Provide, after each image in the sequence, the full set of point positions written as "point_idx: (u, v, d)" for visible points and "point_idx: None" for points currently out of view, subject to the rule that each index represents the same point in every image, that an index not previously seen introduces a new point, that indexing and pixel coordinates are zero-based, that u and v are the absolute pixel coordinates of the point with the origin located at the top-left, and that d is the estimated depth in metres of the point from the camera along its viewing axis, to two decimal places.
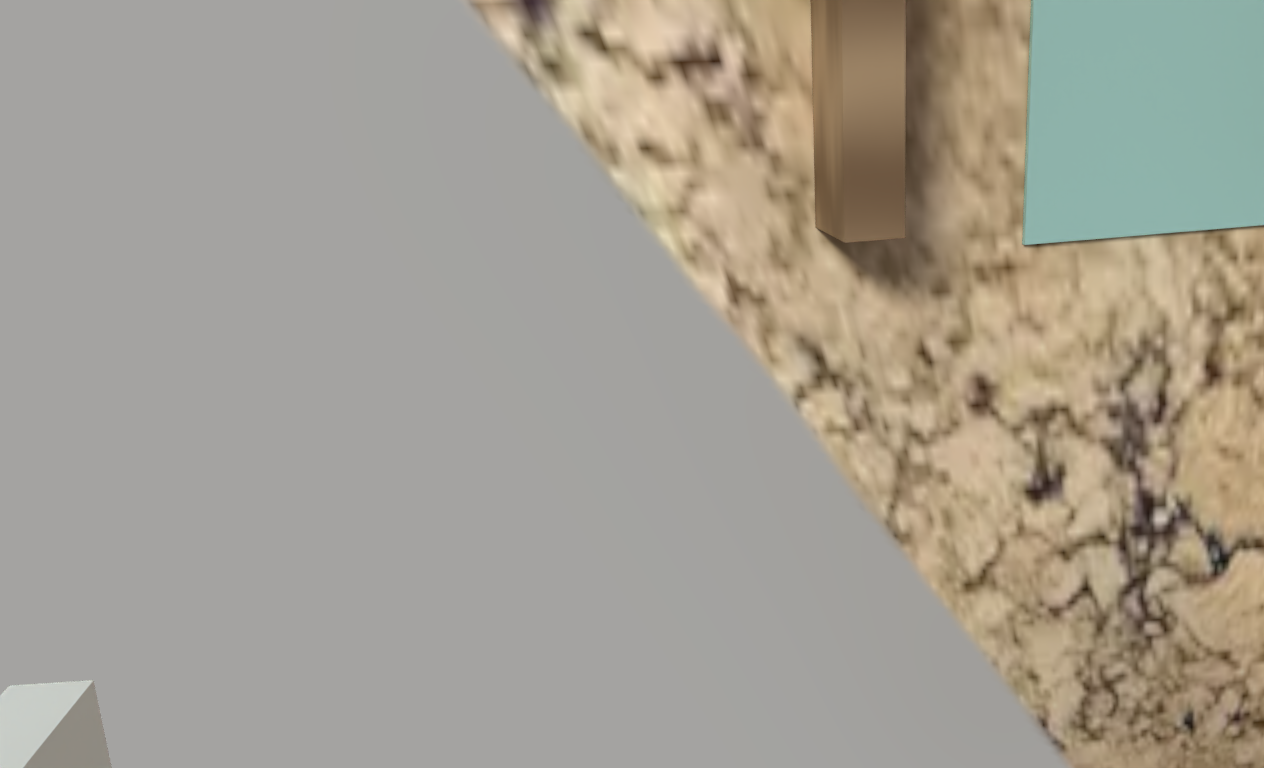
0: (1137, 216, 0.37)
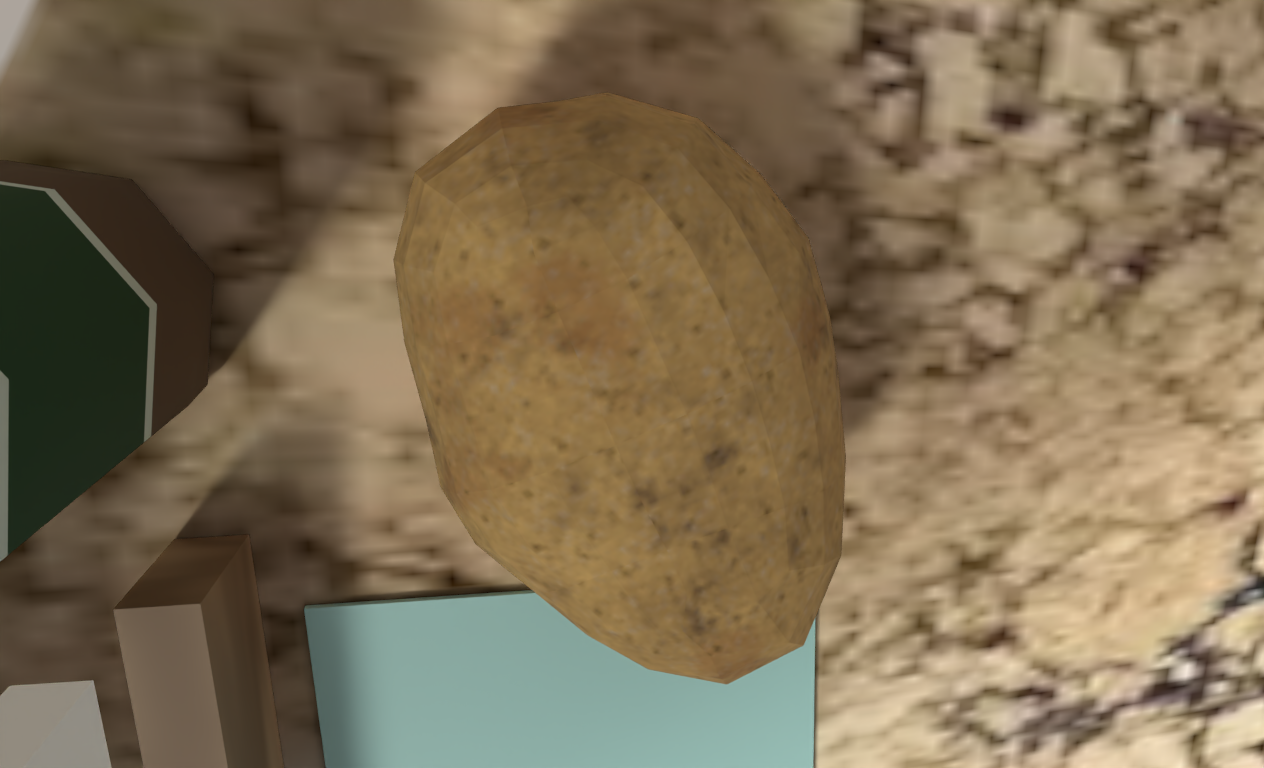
0: (790, 763, 0.31)
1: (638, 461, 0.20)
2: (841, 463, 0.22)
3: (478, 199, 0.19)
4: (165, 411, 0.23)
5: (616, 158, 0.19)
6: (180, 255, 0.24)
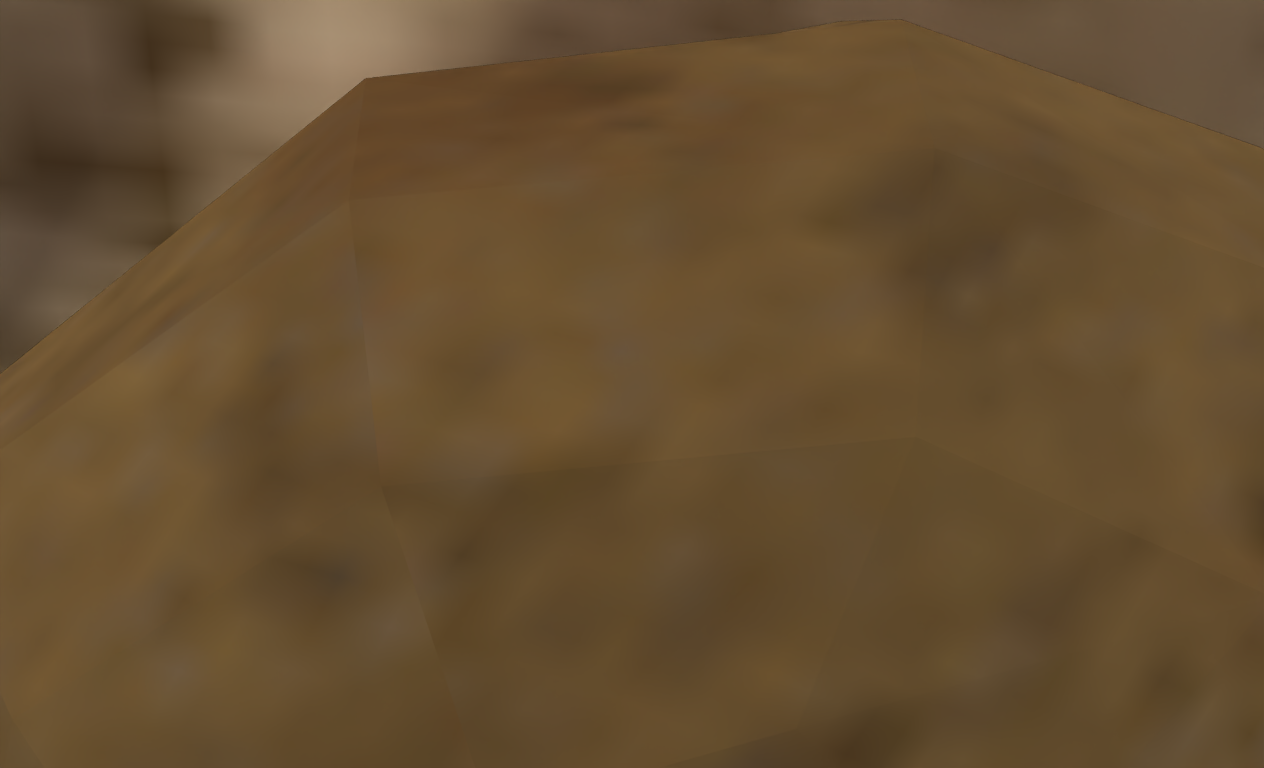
0: None
1: None
2: None
3: (163, 711, 0.03)
4: None
5: (1082, 401, 0.03)
6: None
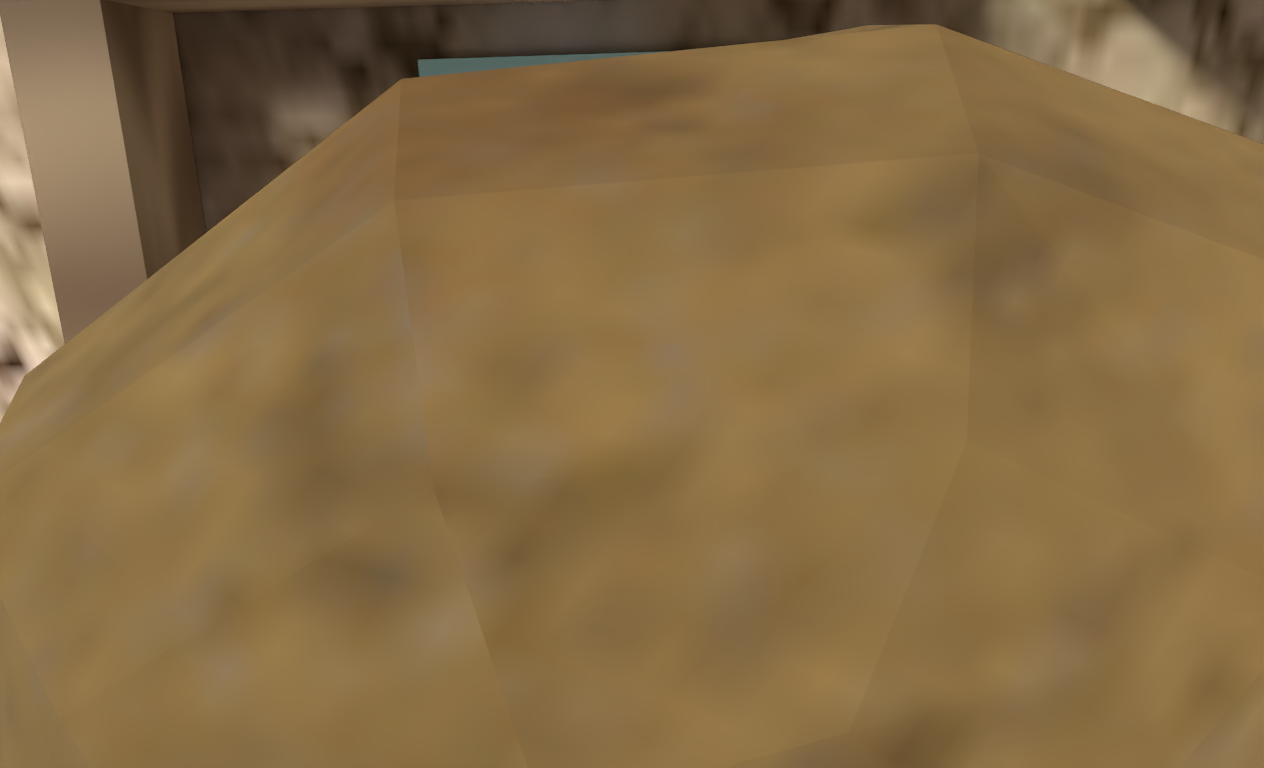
0: None
1: None
2: None
3: (208, 715, 0.03)
4: None
5: (1130, 405, 0.03)
6: None
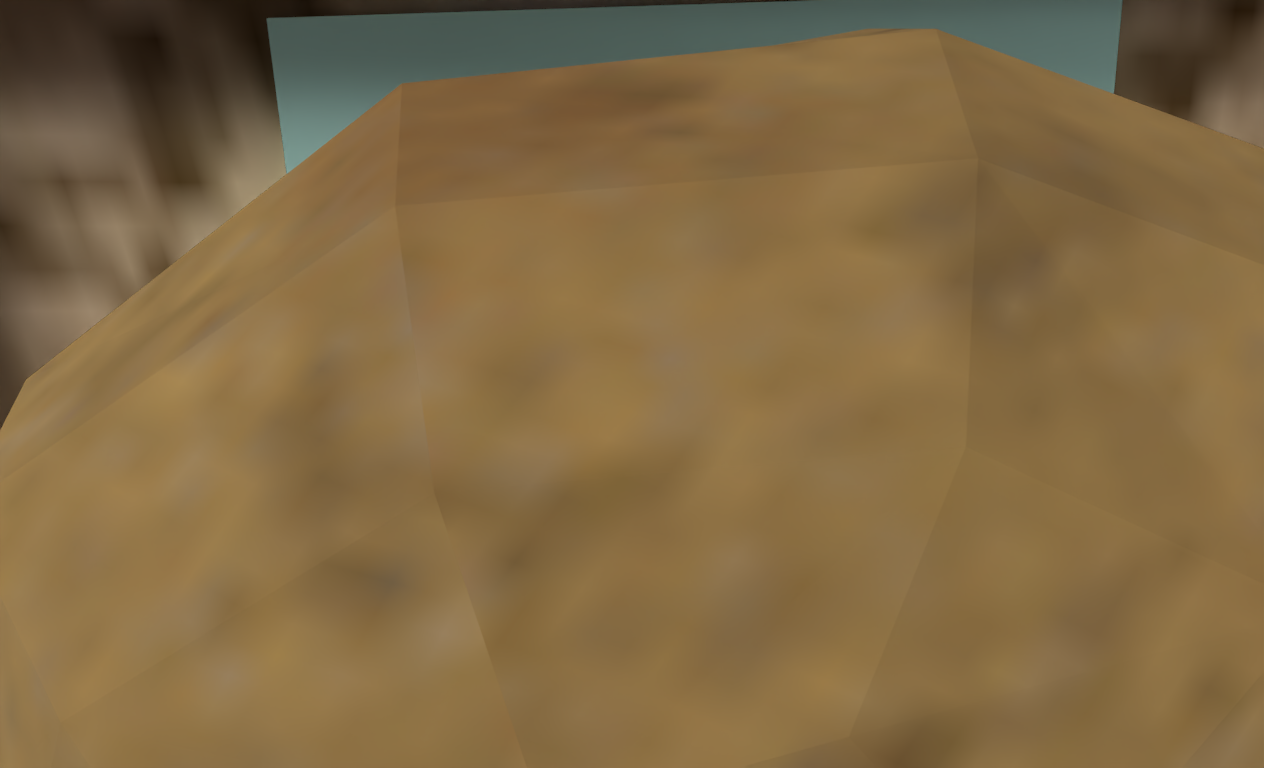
0: None
1: None
2: None
3: (210, 714, 0.03)
4: None
5: (1128, 415, 0.03)
6: None
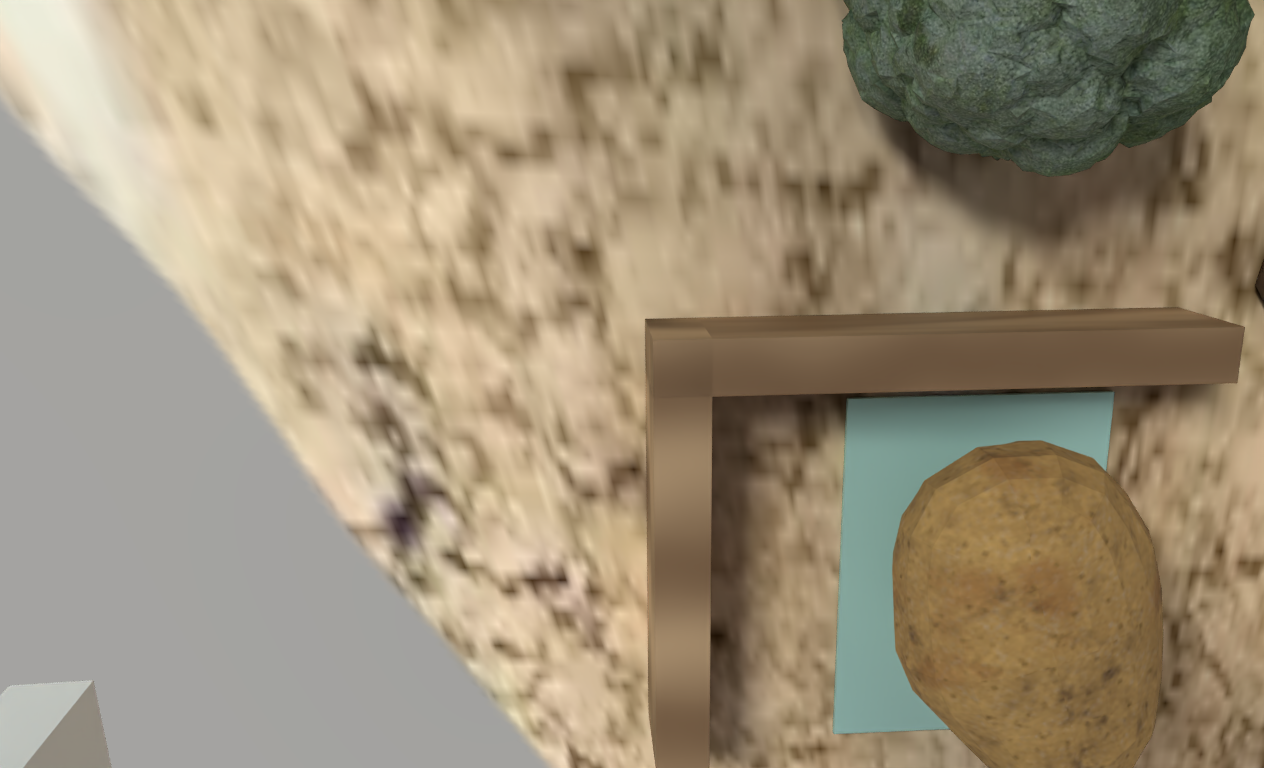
0: (934, 714, 0.42)
1: (1067, 675, 0.33)
2: (1161, 671, 0.36)
3: (998, 524, 0.32)
4: None
5: (1075, 502, 0.33)
6: None
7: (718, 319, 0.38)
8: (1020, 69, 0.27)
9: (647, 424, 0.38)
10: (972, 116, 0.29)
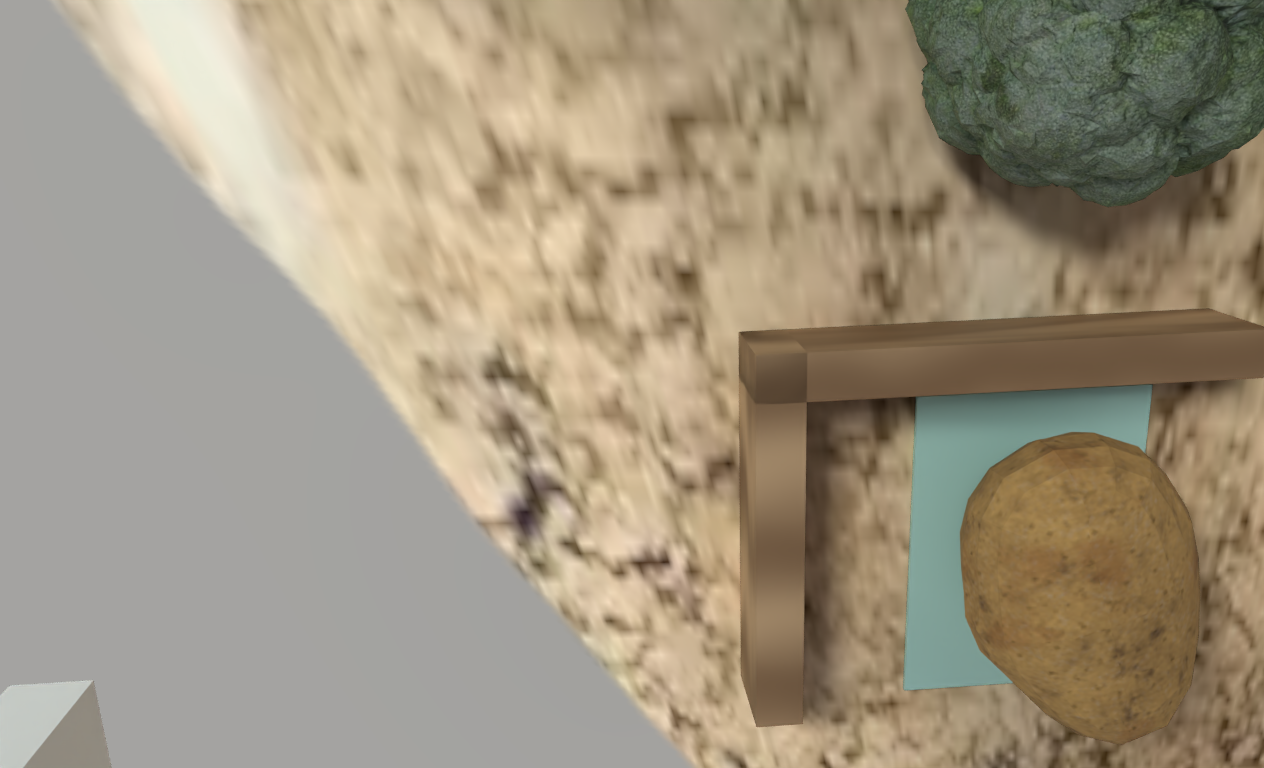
0: (992, 671, 0.48)
1: (1120, 635, 0.39)
2: (1198, 629, 0.41)
3: (1061, 507, 0.37)
4: None
5: (1127, 488, 0.38)
6: None
7: (804, 330, 0.42)
8: (1090, 125, 0.32)
9: (742, 424, 0.43)
10: (1046, 161, 0.33)
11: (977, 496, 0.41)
